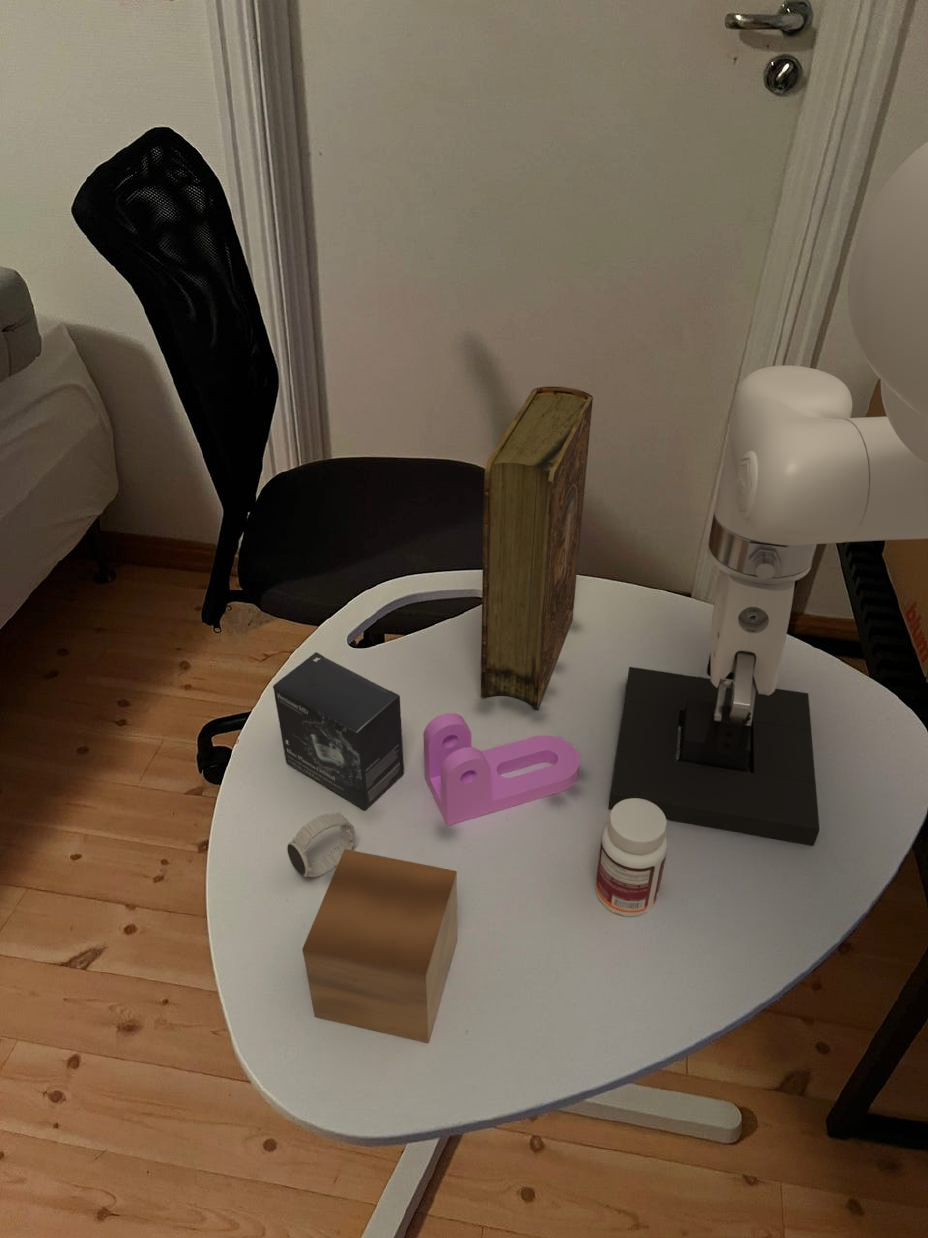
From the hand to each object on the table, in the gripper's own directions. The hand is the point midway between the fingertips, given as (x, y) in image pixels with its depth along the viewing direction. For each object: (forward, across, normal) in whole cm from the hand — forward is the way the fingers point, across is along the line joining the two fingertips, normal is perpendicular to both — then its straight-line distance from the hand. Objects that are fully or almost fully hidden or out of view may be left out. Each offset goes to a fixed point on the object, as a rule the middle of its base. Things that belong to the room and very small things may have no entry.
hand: (724, 713), depth 78 cm
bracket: (+6, -6, +17) cm, 19 cm away
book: (+6, +10, +18) cm, 22 cm away
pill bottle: (+6, -16, +6) cm, 18 cm away
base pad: (+6, 0, 0) cm, 6 cm away
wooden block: (+6, -26, +22) cm, 35 cm away
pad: (+6, 0, 0) cm, 6 cm away
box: (+6, -8, +31) cm, 33 cm away
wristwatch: (+6, -18, +29) cm, 35 cm away
